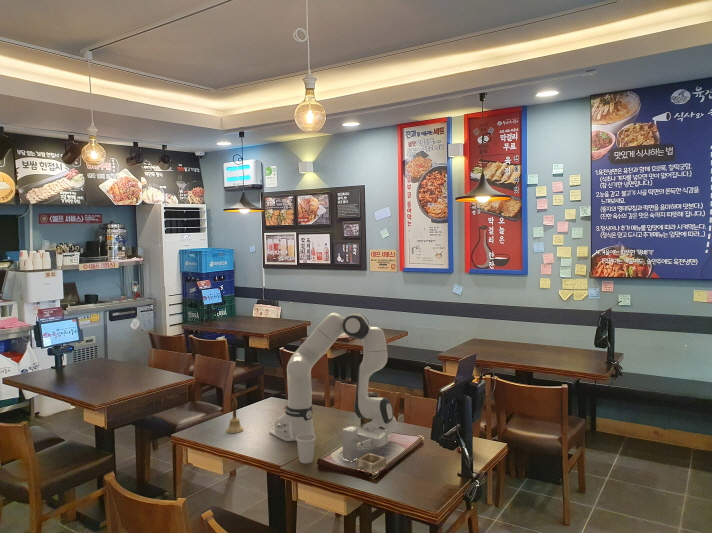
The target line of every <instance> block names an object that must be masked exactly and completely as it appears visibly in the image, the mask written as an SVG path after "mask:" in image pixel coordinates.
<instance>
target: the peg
mask: <svg viewBox="0 0 712 533" xmlns="http://www.w3.org/2000/svg"><path fill="white" fill-rule="evenodd" d="M344 428H345V429H344ZM344 428H342V430H343V436H342V459H343V458H344V459H347V460H349V461H353V460H354V459H356V458H359V457H358V448H359V447H358V446H359V445H358V443H359V442H358V429H357V428H353V427H350V426H346V427H344ZM353 462H354V461H353Z"/></svg>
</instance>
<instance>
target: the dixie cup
mask: <svg viewBox="0 0 712 533" xmlns="http://www.w3.org/2000/svg"><path fill="white" fill-rule="evenodd" d="M296 439H297V440H296V443H297V446H296V447H297V453H298V462H300V464H311V463H312V462H313V461H314V454H315V453H314V452H315V446H316V439H317V436H316V434H315V435H313V434H300V435H298V436H297V437H296Z"/></svg>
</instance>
